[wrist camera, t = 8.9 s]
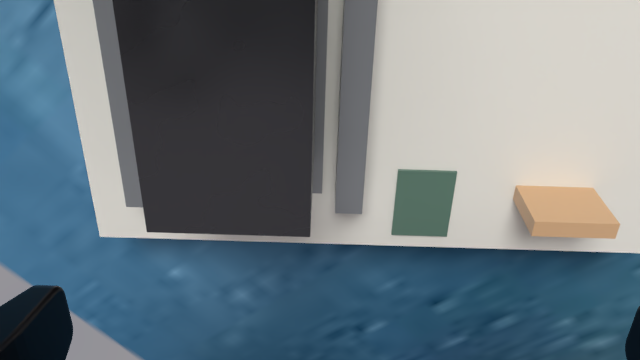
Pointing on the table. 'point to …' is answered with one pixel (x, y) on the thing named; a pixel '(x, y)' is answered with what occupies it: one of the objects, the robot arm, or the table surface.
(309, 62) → the battery
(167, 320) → the table surface
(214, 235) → the cradle
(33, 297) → the robot arm
